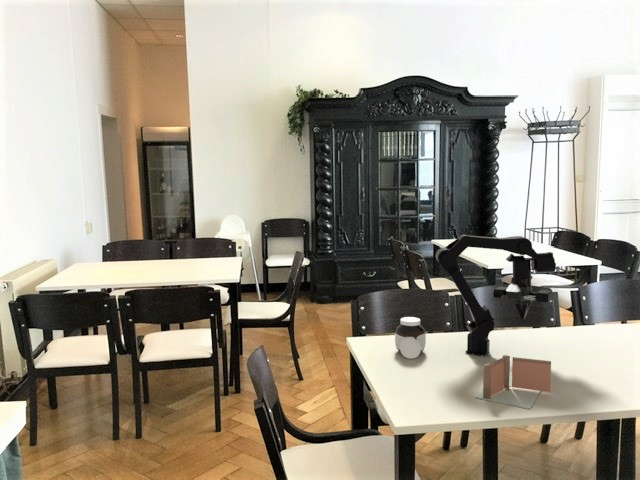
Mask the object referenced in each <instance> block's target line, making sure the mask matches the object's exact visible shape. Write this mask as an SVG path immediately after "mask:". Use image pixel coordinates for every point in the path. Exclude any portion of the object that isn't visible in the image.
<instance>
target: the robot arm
mask: <svg viewBox="0 0 640 480" xmlns="http://www.w3.org/2000/svg"><path fill="white" fill-rule="evenodd" d="M467 248H477V249H478V248H479V249H489V250H503V251H506V252H508V253H509V252H510V254H509V255H508V257H507V258H505V261H508V262H510V263H512V277H511V280H510V284H509V285H508V286H498V287H496V288H494V289H493V291H492V297H493V298H496V299H497V298H498V299H501V298H503V297H504V296H506V297H507V300H509V301H508V302H512V303H513V304H514V306H515V308H516V309H517V311H518V314H519V317H520V319H521V320H525V319H526V317H527V314H528V312H529V309H530V307H531V306H532V303H533V302H535V301H537V302H539V303H549V302H551V301H553V300H554V299H555V298H554V293H553V291H552V290H545V289H540V290H539V291H536V292H534V291H533V287H532V279H533V275H532V271H534V272H535V274H548V273H549V274H550V273H555V272H556V270H557V269H556V268H557V263H556V261H555V260H556V259H555V257H554V253H553V252H552V251H547V252H539V253H538V252H537V251H536V250H535V249H534V248H533V244H532V241H531V240H530V239H529V238H526V237H524V236H521V235H514V236H506V237H491V236H479V235H478V236H477V235H467V234H461V235H460V236H459V237H458V238H456V239H455V240H453V241H452V242H451V243H449V244H448V245H447V246H445V247H440V248H439V249H437V251H436V253H435V258H436V260H437V263H439V265H440V266H441V267H442V268H443V270H445V272H447V274H448V275H449V276H450V278H451V280H452V281H453V283H454V284H455V287H456V288H457V290H458V292H459V293H460V295H461V297H462V299H463V300H464V302H465V304H466V305H467V307H468V308H469V312H470V315H471V318H472V321H471V322H470V323H468V324H467V325H466V326H467V329H468V332H469V333H467V340H466V341H467V345H466V346H467V349H466V350H465V353H466V354H469V355H470V354H471V355H477V356H482V357H485V356H486V355H487V354H488V353H489V352H490V345H491V343H490V339H489V335H490V333H491V332H492V331H493V330H494V329H495V325H496V324H495V321H494V320H495V317H493V315H492V313H491V310H490V309H489V308H488V307H487V305H485V304H484V305H483V306H481V305H480V302H479V301H478V299H477V297H476V296H475V294H474V293H473V290H472V289H471V287H470V285H469V284H468V282H467V281H466V279H465V278H464V276H463V274H462V272H461V270H460V267H459V263H458V261H457V258H458V257H459V256H460V255H461V254H462V253H463V252H464V251H466V249H467ZM514 254H517V255H514ZM525 256H527V257H525Z"/></svg>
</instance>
